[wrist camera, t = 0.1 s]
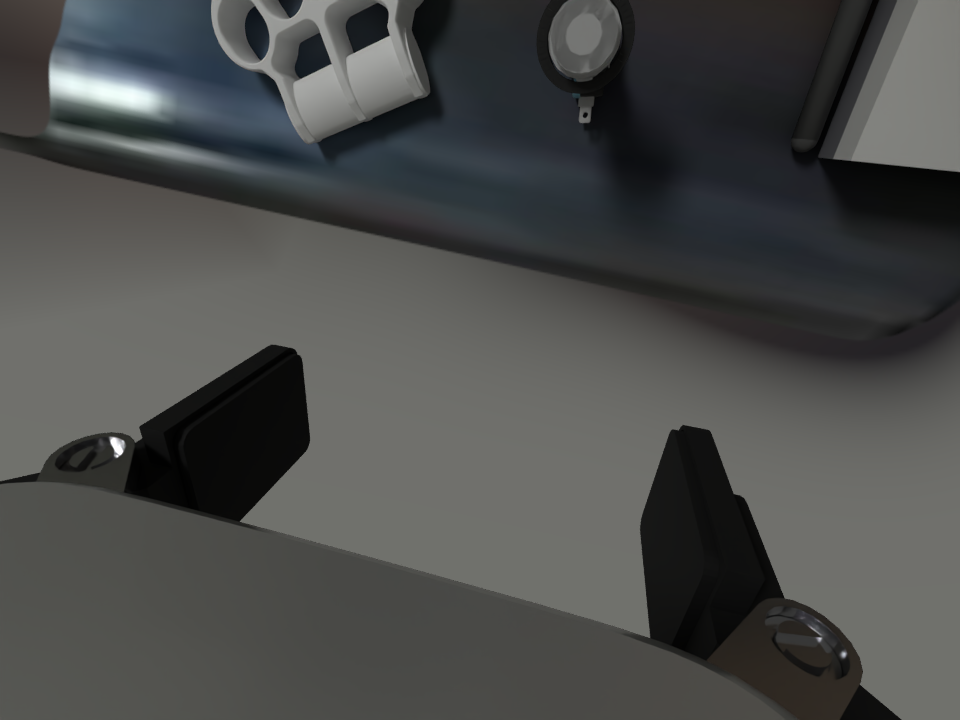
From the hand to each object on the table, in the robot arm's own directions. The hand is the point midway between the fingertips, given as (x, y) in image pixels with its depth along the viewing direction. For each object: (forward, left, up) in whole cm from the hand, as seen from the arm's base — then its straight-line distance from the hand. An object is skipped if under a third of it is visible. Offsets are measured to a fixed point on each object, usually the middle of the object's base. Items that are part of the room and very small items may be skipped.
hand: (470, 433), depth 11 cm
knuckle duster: (-13, -20, -32) cm, 40 cm away
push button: (-11, 0, -31) cm, 33 cm away
